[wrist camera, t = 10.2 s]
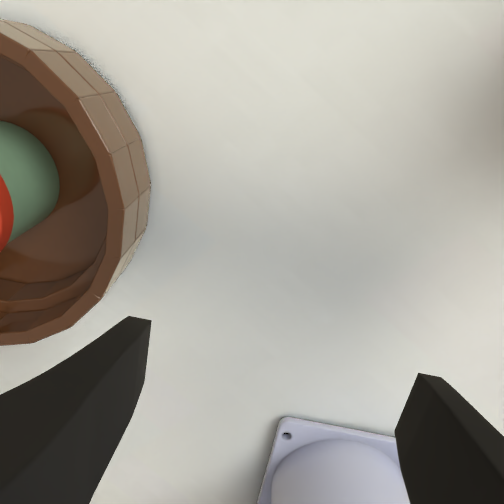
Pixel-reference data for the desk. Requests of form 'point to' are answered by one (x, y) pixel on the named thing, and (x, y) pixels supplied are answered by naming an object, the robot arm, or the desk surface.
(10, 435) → the robot arm
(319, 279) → the desk surface
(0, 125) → the container
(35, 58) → the bowl
